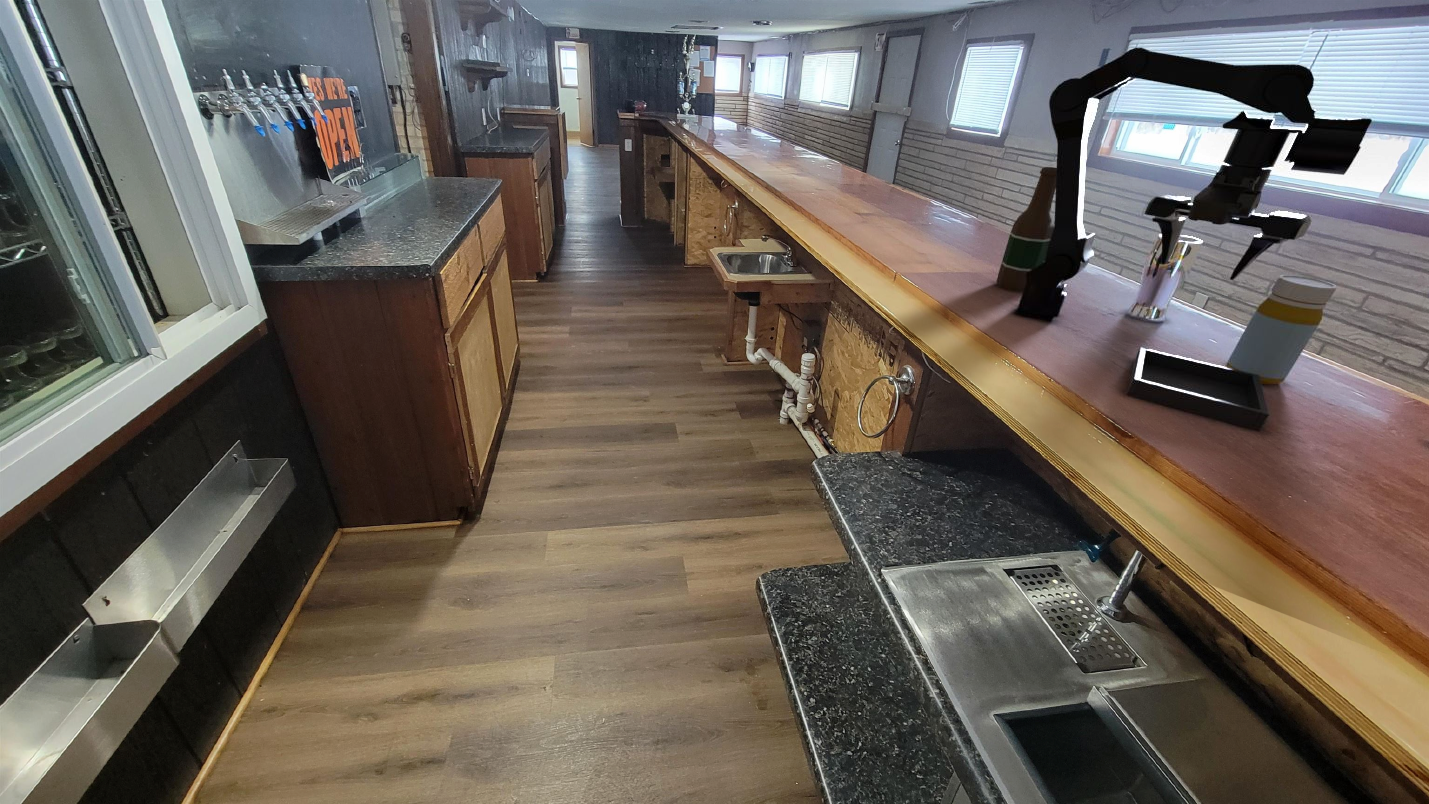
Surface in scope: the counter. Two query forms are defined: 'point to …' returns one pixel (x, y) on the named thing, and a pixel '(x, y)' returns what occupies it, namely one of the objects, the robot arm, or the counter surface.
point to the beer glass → (1163, 278)
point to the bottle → (1281, 327)
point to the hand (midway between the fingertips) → (1196, 271)
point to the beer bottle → (1029, 235)
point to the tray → (1199, 388)
